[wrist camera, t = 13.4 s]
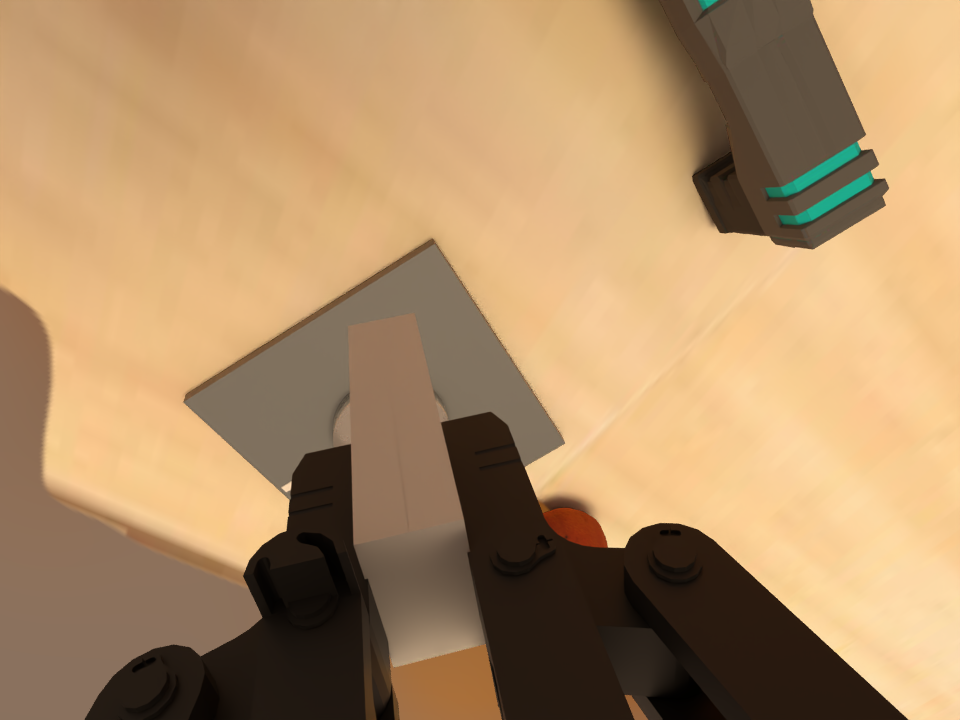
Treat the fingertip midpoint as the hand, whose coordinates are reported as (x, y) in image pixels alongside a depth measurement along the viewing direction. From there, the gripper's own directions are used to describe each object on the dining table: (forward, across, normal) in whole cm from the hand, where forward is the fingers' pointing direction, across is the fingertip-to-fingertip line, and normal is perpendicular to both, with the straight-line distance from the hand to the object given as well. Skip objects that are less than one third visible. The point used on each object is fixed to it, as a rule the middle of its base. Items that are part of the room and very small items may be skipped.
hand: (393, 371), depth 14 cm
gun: (+35, +24, +2) cm, 42 cm away
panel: (+34, -3, -25) cm, 43 cm away
